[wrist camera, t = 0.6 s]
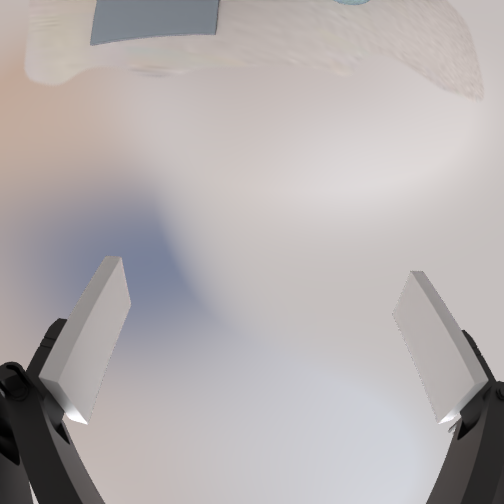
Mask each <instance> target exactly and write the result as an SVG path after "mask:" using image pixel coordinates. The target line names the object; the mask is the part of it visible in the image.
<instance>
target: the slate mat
mask: <svg viewBox="0 0 504 504" xmlns="http://www.w3.org/2000/svg"><path fill="white" fill-rule="evenodd" d="M218 5H219V0H97V4H96V9H95V15H94V21H93V27H92V34H91V42H90V45H92V46H93V45H98V44H104V43H110V42H116V41H123V40H131V39H139V38H149V37H161V36H178V35H216V24H217V15H218Z"/></svg>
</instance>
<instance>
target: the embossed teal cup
mask: <svg viewBox="0 0 504 504" xmlns="http://www.w3.org/2000/svg"><path fill="white" fill-rule="evenodd" d="M334 1H337V2H338V3H344V4H348V5H359V4H363V3H366V2H368V1H369V0H334Z"/></svg>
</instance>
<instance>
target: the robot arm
mask: <svg viewBox="0 0 504 504" xmlns="http://www.w3.org/2000/svg"><path fill="white" fill-rule="evenodd" d="M130 306H131V301H130V297H129V292H128V288H127V283H126V279H125V273H124V268H123V263H122V258H121V257H115V256H106V257H105V258H104V260H103V261H102V263H101V265H100V266H99V268H98V269H97V271H96V273H95V274H94V276H93V277H92V279H91V280H90V282H89V284H88V285H87V287H86V289H85V290H84V292H83V294H82V296H81V297H80V299H79V301H78V302H77V304H76V306H75V307H74V309H73V311H72V313H71V314H70V317H69V318H68V320H67V319H61V318H59V319H58V320H57V321H55V322H54V323H53V324H52V325H51V326H50V327H49V329H48V331H47V332H46V334H45V336H44V339H43V340H42V342H41V343H40V347H38V349H37V351H36V352H35V355H34V356H33V358H32V360H31V362H30V364H29V366H28V368H27V370H26V372H25V370H24V369H23V367H22V366H21V365H20V364H18V363H17V362H7V363H4V364H3V365H1V366H0V504H33V500H32V494H31V489H30V484H31V486H32V489H33V491H34V493H35V496H36V498H37V501H38V503H39V504H105V503H104V501H103V499H102V498H101V496H100V494H99V493H98V491H97V489H96V487H95V485H94V484H93V482H92V480H91V478H90V476H89V474H88V473H87V471H86V469H85V467H84V465H83V463H82V461H81V459H80V457H79V455H78V453H77V450H76V448H75V446H74V444H73V442H72V440H71V438H70V435H69V433H68V430H67V428H66V426H65V423H64V422H63V420H62V418H63V415H64V412H65V413H66V415H67V416H68V417H69V418H70V419H71V420H74V421H78V422H81V423H85V424H88V423H89V420H90V417H91V414H92V410H93V407H94V404H95V401H96V398H97V395H98V392H99V389H100V386H101V383H102V380H103V377H104V374H105V371H106V369H107V366H108V363H109V360H110V358H111V355H112V352H113V349H114V347H115V344H116V341H117V339H118V336H119V334H120V331H121V329H122V326H123V324H124V321H125V319H126V316H127V314H128V311H129V308H130ZM393 317H394V319H395V321H396V323H397V325H398V327H399V330H400V331H401V334H402V336H403V338H404V340H405V343H406V345H407V347H408V350H409V352H410V354H411V356H412V359H413V361H414V363H415V366H416V368H417V371H418V373H419V376H420V378H421V381H422V383H423V385H424V388H425V391H426V393H427V396H428V398H429V401H430V403H431V406H432V409H433V411H434V414H435V417H436V420H437V423H442V422H446V421H450V420H452V419H453V418H454V417H455V416H456V415H457V414H458V413H459V412H460V415H461V418H460V419H459V420H458V421H457V422H456V423H455V424H454V425H453V426H452V427H451V428H450V429H449V431H448V432H451V431H452V430H453V429H454V428H456V429H455V432H454V433H453V434H454V436H453V438H452V441H451V444H450V447H449V450H448V453H447V455H446V458H445V461H444V463H443V466H442V469H441V471H440V473H439V476H438V478H437V481H436V483H435V485H434V488H433V490H432V492H431V494H430V496H429V499H428V501H427V503H426V504H504V382H501V381H498V382H497V381H496V380H495V378H494V376H493V374H492V372H491V370H490V369H489V367H488V365H487V363H486V361H485V359H484V358H483V356H481V353H480V351H479V349H478V348H477V345H476V343H475V342H474V340H473V338H472V337H471V336H470V335H469V334H468V333H467V332H466V331H465V330H461V329H460V327H459V326H458V324H457V322H456V321H455V319H454V318H453V316H452V315H451V313H450V311H449V310H448V308H447V307H446V305H445V303H444V302H443V300H442V299H441V297H440V296H439V294H438V293H437V291H436V290H435V288H434V287H433V285H432V284H431V282H430V281H429V279H428V278H427V276H426V275H425V273H424V272H423V271H410V274H409V276H408V279H407V281H406V284H405V286H404V289H403V291H402V293H401V296H400V298H399V300H398V303H397V305H396V307H395V309H394V312H393ZM29 481H30V484H29Z"/></svg>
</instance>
